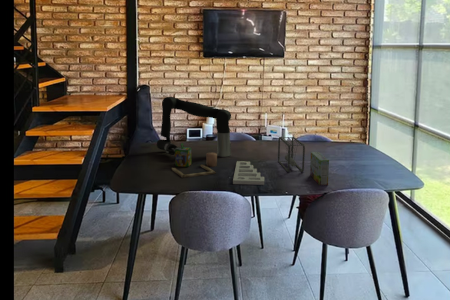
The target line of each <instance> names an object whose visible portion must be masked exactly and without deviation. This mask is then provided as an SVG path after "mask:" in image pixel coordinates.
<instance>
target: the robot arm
mask: <svg viewBox="0 0 450 300" xmlns="http://www.w3.org/2000/svg"><path fill="white" fill-rule="evenodd" d="M161 104H162V105H161V107H162V108H161V109H162V111H161V112H162V114H161V116H162V117H161V128H160V136H161V137H163V138H165V139H158V140H157V141H156V147H157V148H158V150H162V151H165V152H166V155H167V154H168V155H170V156H175V149H177V148H178V146H177V145H176V144H174V143H172V141H171V129H172V122H171V115H172V113H171V112H172V110H179V111H183V112H184V113H187V114H189V115H191V116H195V117H200V118H211V119H215V124H216V126H215V128H216V136H217V137H216V140H217V141H216V147H217V148H216V151H217V152H216V153H217V157H221V158H225V157H230V156H232V143H231V129H230V125H229V124H230V120H231V119H232V114H231V112H230V111H229V110H228V109H222V108H217V107H211V106H208V105H205V104H202V103H198V102H194V101H188V100H182V99H180V98H177V97H174V96H166V97H164V98H163V99H162V101H161Z"/></svg>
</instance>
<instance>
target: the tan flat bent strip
mask: <svg viewBox="0 0 450 300" xmlns="http://www.w3.org/2000/svg"><path fill="white" fill-rule="evenodd" d="M200 167H201V168H202V169H204V170H205V171H204V172H197V173H187V174H184V173H183V172H182V171H180V170H179V169H178V168H176V167H171V170H172V172H174V173H175V174H176V175H178V176H179V177H181V178H182V179H184V178H192V177H193V178H194V177H201V176H208V175H215V174H217V172H216V171H215V170H213V169H211V168H210V167H209V166H207V165H205V164H200Z"/></svg>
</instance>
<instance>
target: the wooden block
mask: <svg viewBox="0 0 450 300" xmlns="http://www.w3.org/2000/svg"><path fill="white" fill-rule="evenodd" d="M205 155H206V157H205V158H206V160H205V161H206V166H207V167H209V168H210V167H211V168H212V167H213V168H214V167H217V166H218V156H217V152H207V153H206V154H205Z"/></svg>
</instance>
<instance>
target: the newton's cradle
mask: <svg viewBox="0 0 450 300" xmlns="http://www.w3.org/2000/svg"><path fill="white" fill-rule="evenodd" d="M287 139H290V141H289V140H287ZM281 142H283V144H285V146H286V149H285V150H286V152H287V154H286V155H285V156H284V159H285V160H280V157H281V153H280V152H281ZM277 143H278V146H277V162H278V163H279V164H280V165H281V166H282V168H283V169H284V170H285V171H286V172H287V173H289V172H290V166H291V167H295V166H296V167H297V169H298V170H299V171H300V172H302V173H303V172H304V171H305V157H306V156H305V153H306V148H305V144H304V143H303V142H302V141H300V140H298V138H296V137H295V136H289V137H281V136H278V142H277ZM299 146H302V160H301V161H302V162H301V163H302V164H301V167H300V166H299V165H298V164H297V161H296V160H295V158H296V157H294V156H295V155H296V153H297V152H296V151H297V149H298V148H296V151H295V147H299ZM283 162H285V163H286V162H287V167H286V166H285V165H284V164H283Z"/></svg>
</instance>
